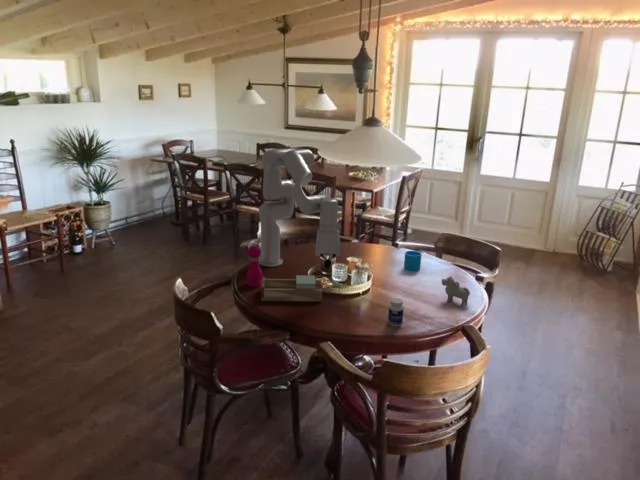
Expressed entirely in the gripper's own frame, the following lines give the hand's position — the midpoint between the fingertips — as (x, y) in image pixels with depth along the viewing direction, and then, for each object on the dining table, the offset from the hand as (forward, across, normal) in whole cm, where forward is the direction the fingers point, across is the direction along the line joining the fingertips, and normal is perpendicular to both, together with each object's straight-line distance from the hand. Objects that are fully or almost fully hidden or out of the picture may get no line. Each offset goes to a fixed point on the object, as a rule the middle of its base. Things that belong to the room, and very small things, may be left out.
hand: (327, 268), depth 228 cm
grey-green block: (+12, +9, -1) cm, 15 cm away
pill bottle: (+14, -26, +25) cm, 39 cm away
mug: (+13, -46, -37) cm, 60 cm away
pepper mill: (+13, +32, -13) cm, 37 cm away
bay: (+13, +15, -1) cm, 20 cm away
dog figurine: (+14, -56, +4) cm, 58 cm away
